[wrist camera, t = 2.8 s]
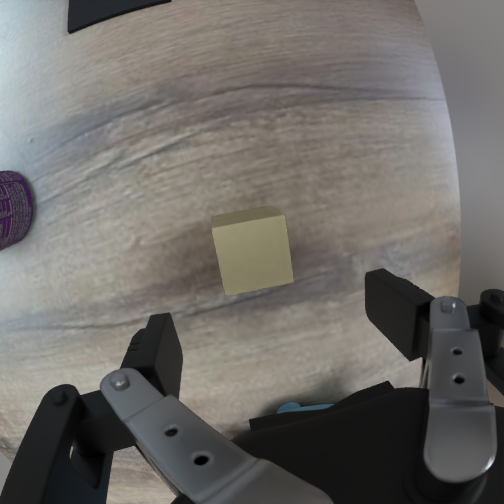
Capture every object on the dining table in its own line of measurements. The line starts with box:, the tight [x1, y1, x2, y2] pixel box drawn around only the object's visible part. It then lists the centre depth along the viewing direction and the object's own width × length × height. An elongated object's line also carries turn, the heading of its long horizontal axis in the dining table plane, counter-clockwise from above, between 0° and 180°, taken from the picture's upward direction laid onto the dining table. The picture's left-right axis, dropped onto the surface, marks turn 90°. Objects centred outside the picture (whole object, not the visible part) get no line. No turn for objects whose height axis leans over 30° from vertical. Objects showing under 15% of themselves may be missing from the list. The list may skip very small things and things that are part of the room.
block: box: [211, 206, 294, 296], centre depth 23 cm, size 5×5×5 cm
